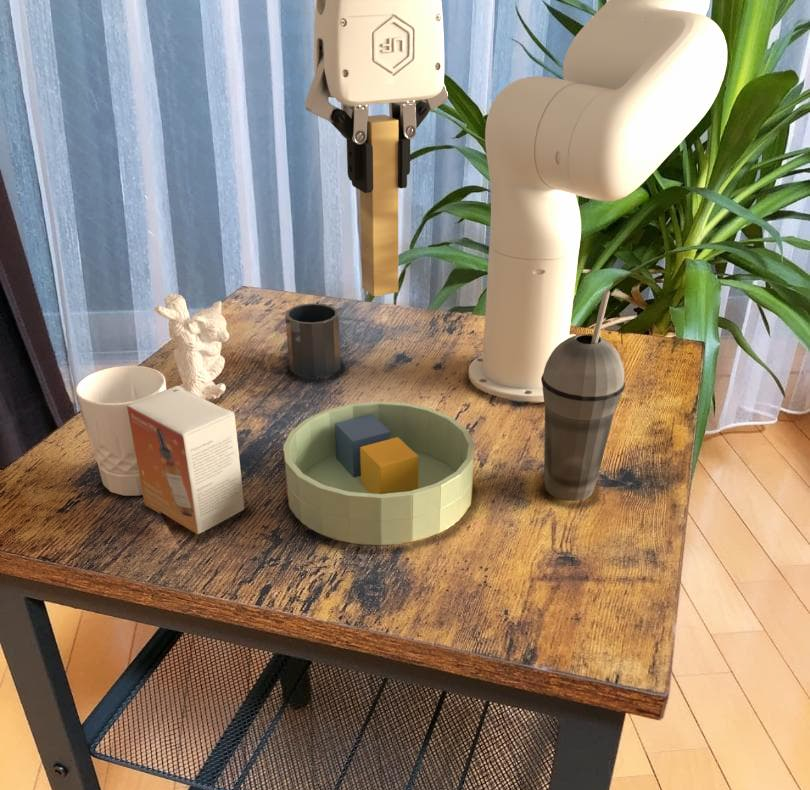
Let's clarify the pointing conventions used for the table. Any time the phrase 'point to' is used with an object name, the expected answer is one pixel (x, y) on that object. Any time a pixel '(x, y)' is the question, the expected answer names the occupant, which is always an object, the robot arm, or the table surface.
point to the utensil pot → (313, 340)
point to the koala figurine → (197, 345)
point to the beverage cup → (579, 410)
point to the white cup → (116, 421)
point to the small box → (187, 458)
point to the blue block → (357, 440)
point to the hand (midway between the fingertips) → (379, 184)
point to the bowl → (380, 513)
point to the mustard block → (389, 467)
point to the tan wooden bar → (381, 210)
